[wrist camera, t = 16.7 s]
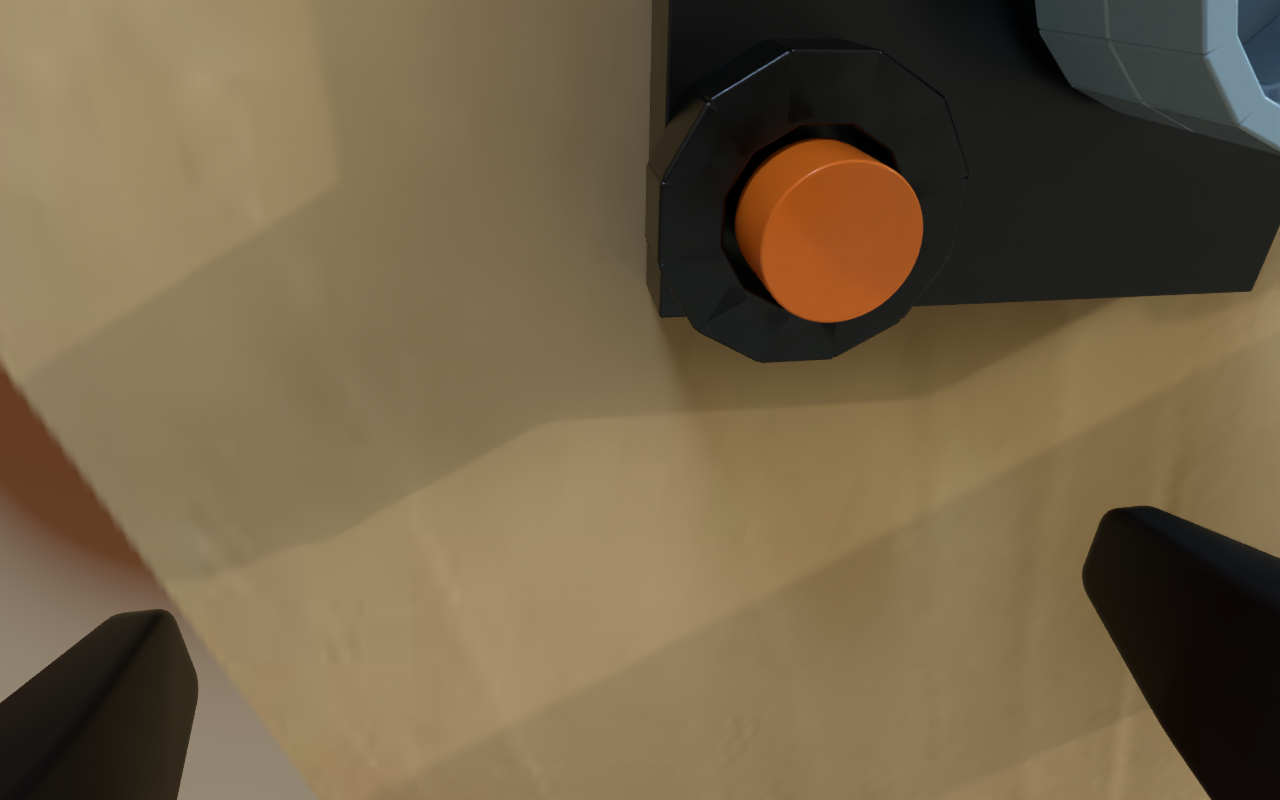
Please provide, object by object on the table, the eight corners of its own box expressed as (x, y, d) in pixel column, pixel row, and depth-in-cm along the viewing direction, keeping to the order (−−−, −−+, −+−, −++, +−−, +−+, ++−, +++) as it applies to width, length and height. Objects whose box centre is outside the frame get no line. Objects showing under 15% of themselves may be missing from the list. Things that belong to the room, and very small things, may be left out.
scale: (630, 300, 18) (654, 370, 15) (638, -447, 12) (681, -578, 9) (1186, 277, 20) (1305, 335, 17) (1436, -379, 14) (1689, -467, 11)
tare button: (729, 289, 15) (753, 327, 14) (739, 137, 14) (769, 161, 12) (868, 283, 15) (907, 320, 14) (893, 135, 14) (939, 158, 13)
